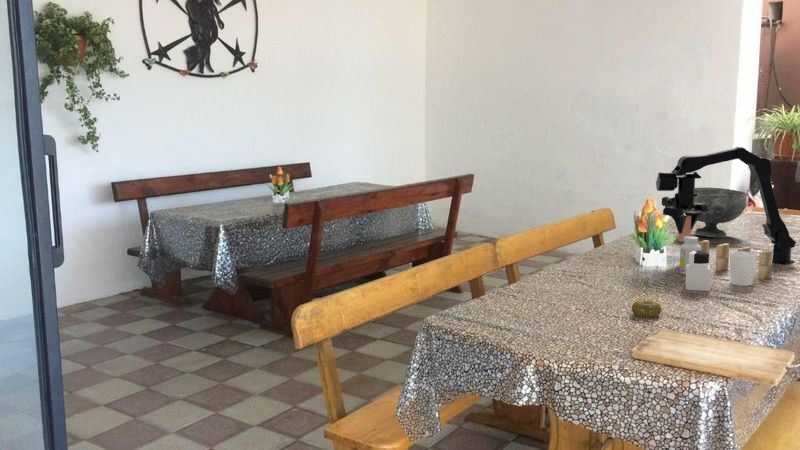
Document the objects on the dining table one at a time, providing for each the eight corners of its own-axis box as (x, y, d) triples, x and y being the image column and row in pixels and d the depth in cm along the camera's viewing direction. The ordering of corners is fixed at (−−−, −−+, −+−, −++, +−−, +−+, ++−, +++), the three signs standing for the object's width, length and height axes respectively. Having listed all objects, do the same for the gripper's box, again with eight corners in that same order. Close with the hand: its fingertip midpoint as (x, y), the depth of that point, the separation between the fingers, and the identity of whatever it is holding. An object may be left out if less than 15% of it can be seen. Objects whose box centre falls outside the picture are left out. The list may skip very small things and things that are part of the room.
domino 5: (766, 276, 251) (768, 250, 250) (771, 277, 250) (772, 251, 249) (758, 278, 249) (759, 252, 247) (762, 279, 248) (764, 253, 246)
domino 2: (704, 264, 271) (705, 240, 270) (708, 265, 270) (709, 240, 269) (695, 266, 269) (696, 241, 267) (699, 266, 267) (700, 242, 266)
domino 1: (686, 239, 277) (687, 215, 275) (690, 239, 275) (691, 215, 274) (678, 240, 274) (679, 216, 273) (681, 241, 273) (682, 217, 271)
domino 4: (744, 272, 258) (746, 246, 257) (749, 272, 257) (750, 247, 255) (736, 274, 256) (737, 248, 254) (740, 275, 254) (741, 249, 253)
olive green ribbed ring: (648, 297, 215) (667, 303, 208) (647, 310, 216) (667, 317, 208) (626, 300, 212) (645, 307, 205) (625, 314, 213) (644, 321, 205)
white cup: (757, 287, 238) (759, 256, 236) (731, 286, 240) (733, 256, 238) (751, 281, 246) (753, 251, 244) (726, 280, 247) (727, 251, 246)
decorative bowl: (748, 233, 329) (751, 188, 325) (739, 243, 307) (742, 195, 304) (686, 229, 343) (688, 186, 339) (673, 238, 321) (675, 192, 318)
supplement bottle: (702, 273, 258) (704, 237, 256) (695, 276, 253) (697, 239, 251) (683, 270, 263) (685, 234, 260) (676, 274, 258) (677, 237, 256)
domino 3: (724, 268, 265) (725, 243, 263) (728, 268, 263) (729, 244, 262) (715, 270, 262) (716, 245, 261) (719, 270, 261) (720, 245, 259)
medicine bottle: (708, 286, 240) (710, 250, 238) (710, 291, 234) (712, 254, 232) (685, 284, 243) (686, 249, 241) (686, 290, 236) (687, 253, 234)
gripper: (683, 186, 283) (682, 226, 286) (651, 191, 273) (650, 232, 276) (709, 189, 274) (707, 230, 277) (676, 193, 264) (675, 236, 267)
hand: (684, 232), depth 274 cm, fingers closed on domino 1, 5 cm apart
